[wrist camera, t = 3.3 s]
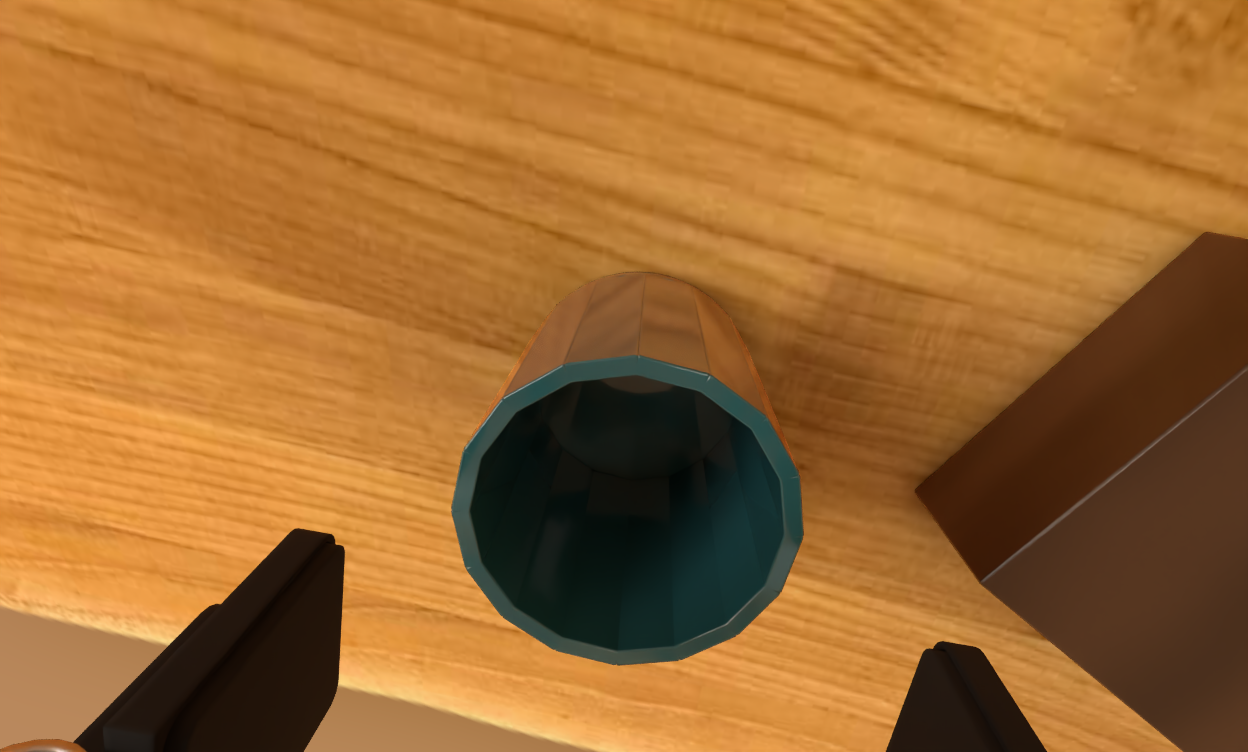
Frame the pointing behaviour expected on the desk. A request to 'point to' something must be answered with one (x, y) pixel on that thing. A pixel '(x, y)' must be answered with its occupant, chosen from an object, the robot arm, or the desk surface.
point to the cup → (630, 479)
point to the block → (1129, 501)
